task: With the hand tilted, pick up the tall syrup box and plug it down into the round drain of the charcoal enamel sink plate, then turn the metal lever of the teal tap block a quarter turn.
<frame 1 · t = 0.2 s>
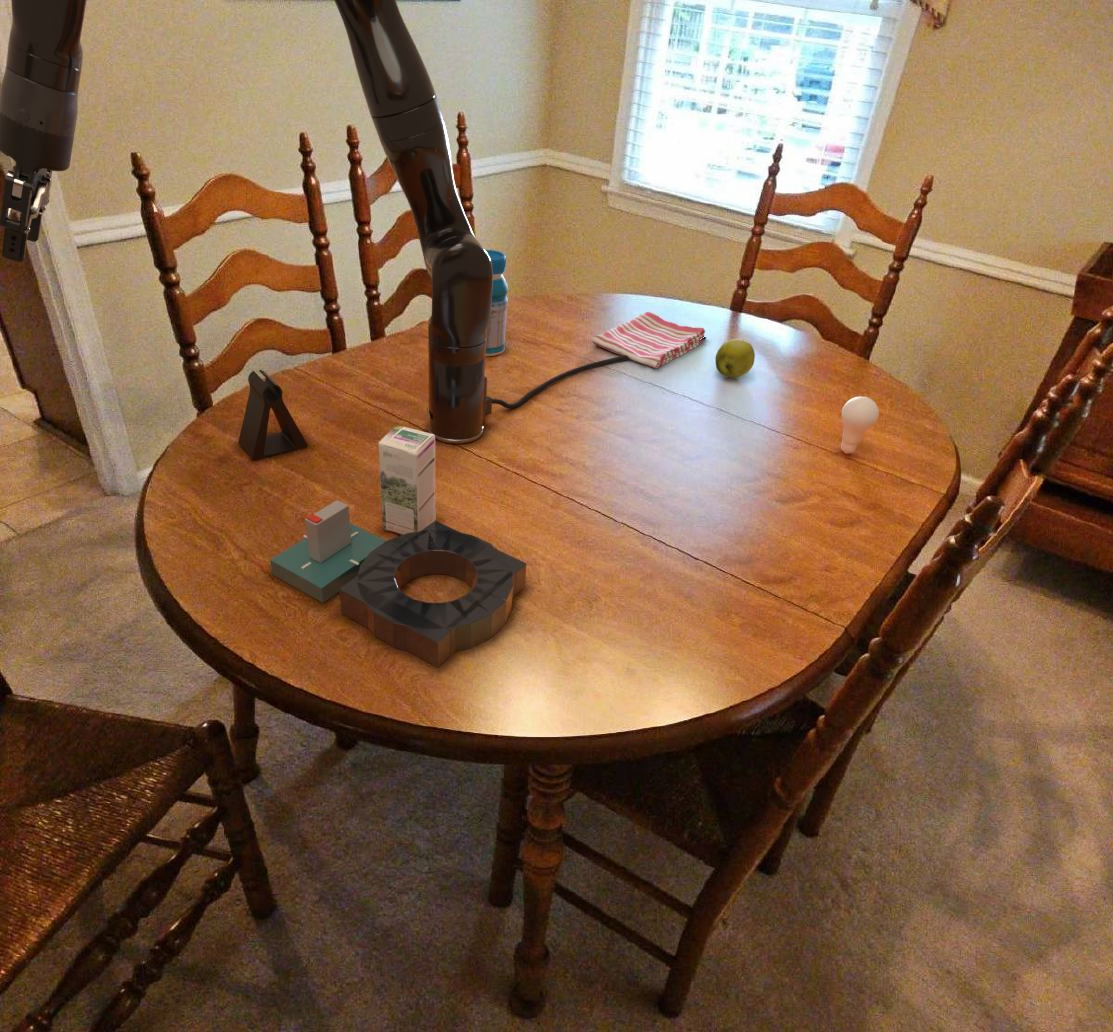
hand: (20, 248, 98), 31 cm above the table, tool tilted 20°, fingers open, 8 cm apart
apple: (730, 377, 163), on the table
phone stand: (273, 446, 124), on the table
lightbulb: (845, 453, 140), on the table
beverage bottle: (485, 350, 163), on the table
syrup box: (409, 526, 110), on the table
dish towel: (648, 345, 173), on the table
tap block: (332, 565, 101), on the table
tap handle: (328, 530, 98), point 6 cm above the table, hinge at 0.0°
sink: (436, 599, 97), on the table
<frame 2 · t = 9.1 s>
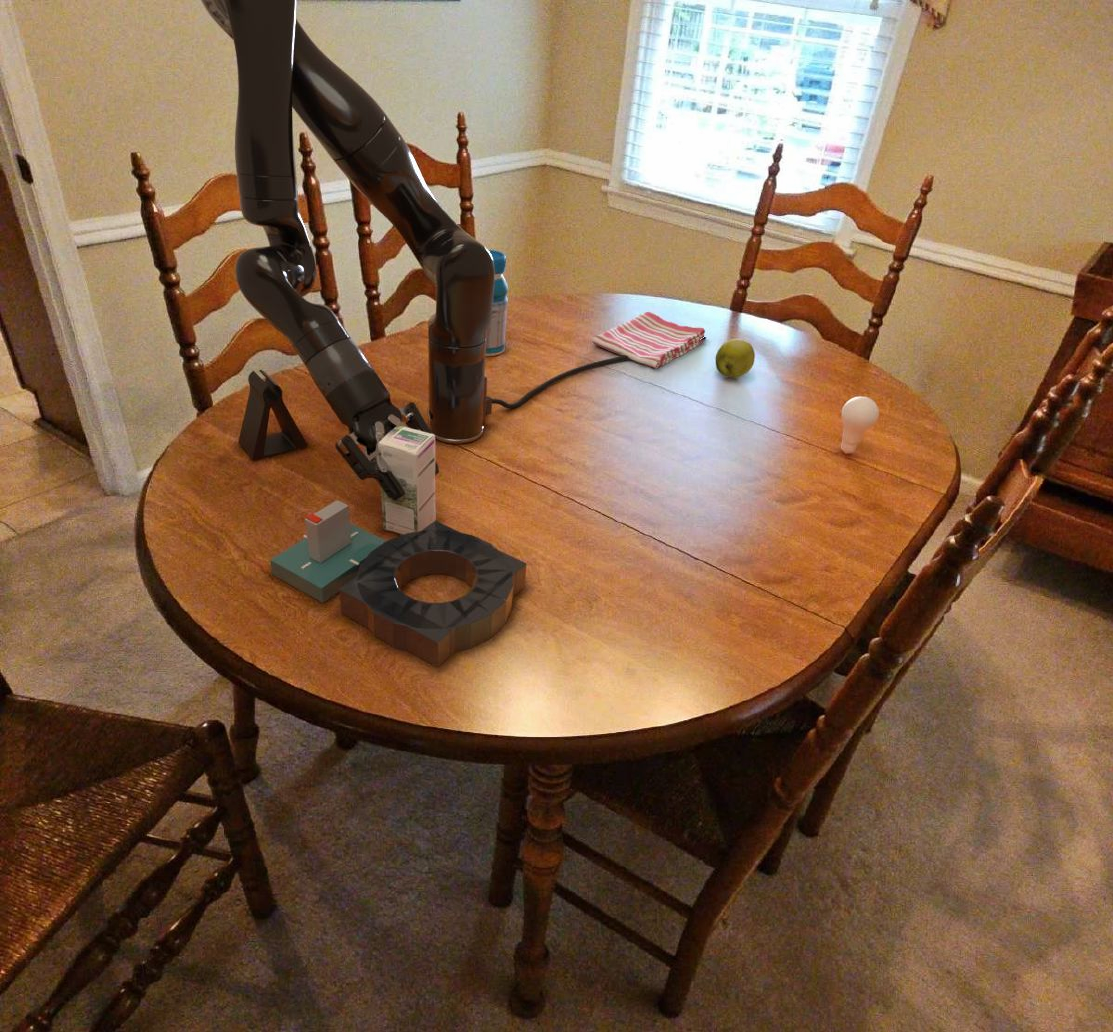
hand: (417, 486, 105), 7 cm above the table, tool tilted 45°, fingers closed on syrup box, 6 cm apart
syrup box: (409, 526, 110), on the table, touching gripper
everything else where it was.
when the fingers open (7 cm above the table, at t = 20.2 s): syrup box stays where it is, resting in sink.
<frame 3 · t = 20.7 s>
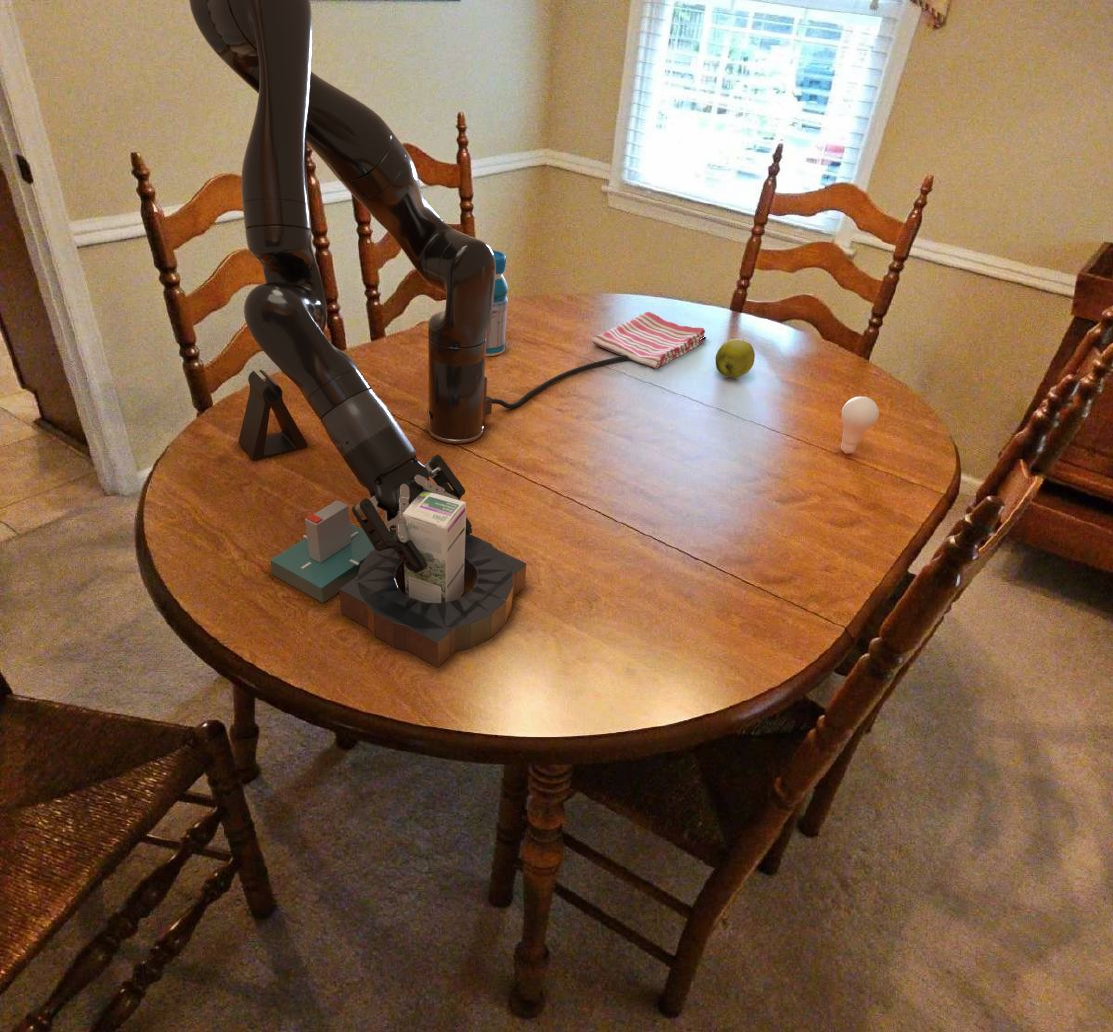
hand: (445, 552, 92), 8 cm above the table, tool tilted 45°, fingers open, 8 cm apart
syrup box: (435, 601, 97), resting in sink
everything else where it was.
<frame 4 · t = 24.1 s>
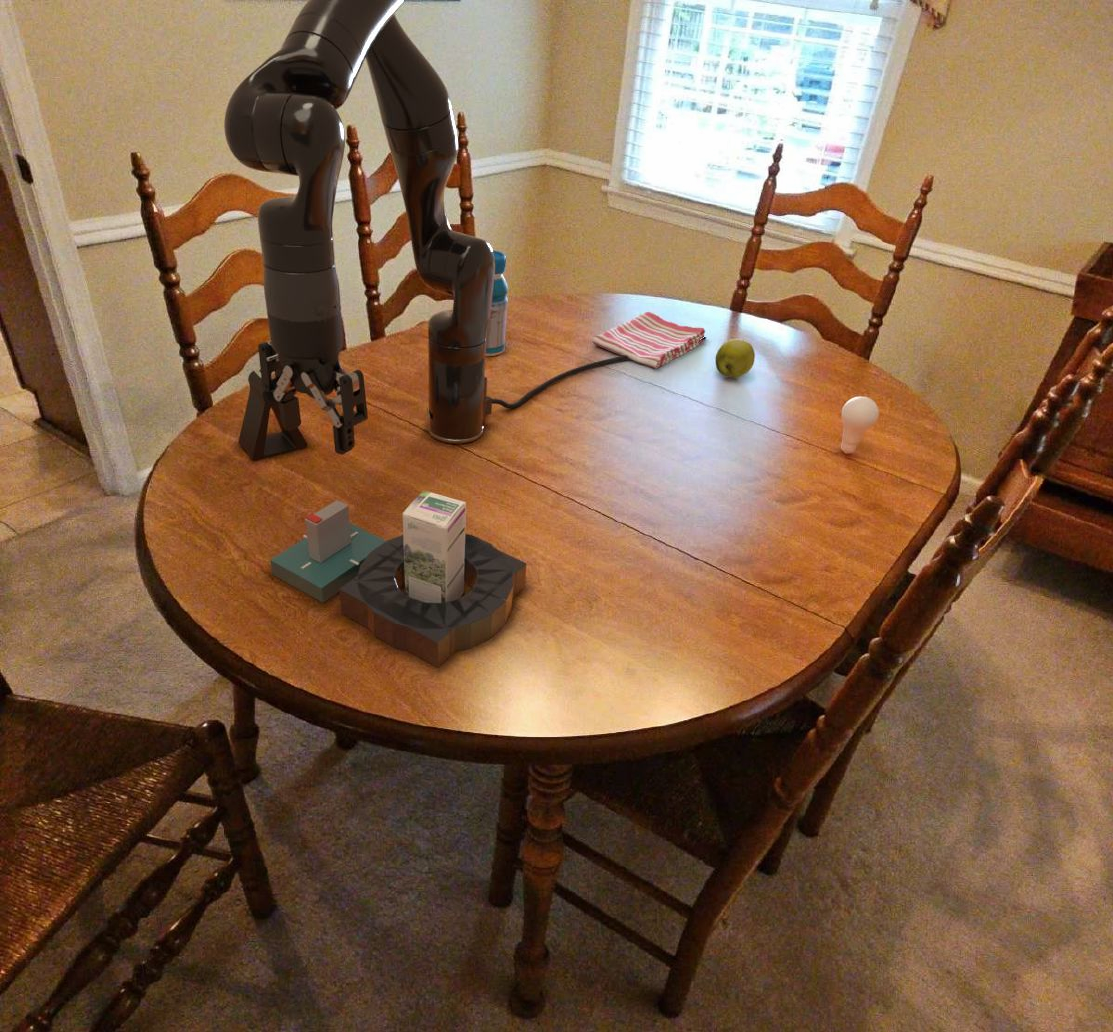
hand: (317, 439, 90), 19 cm above the table, tool pointing down, fingers open, 8 cm apart
nothing on the table moved.
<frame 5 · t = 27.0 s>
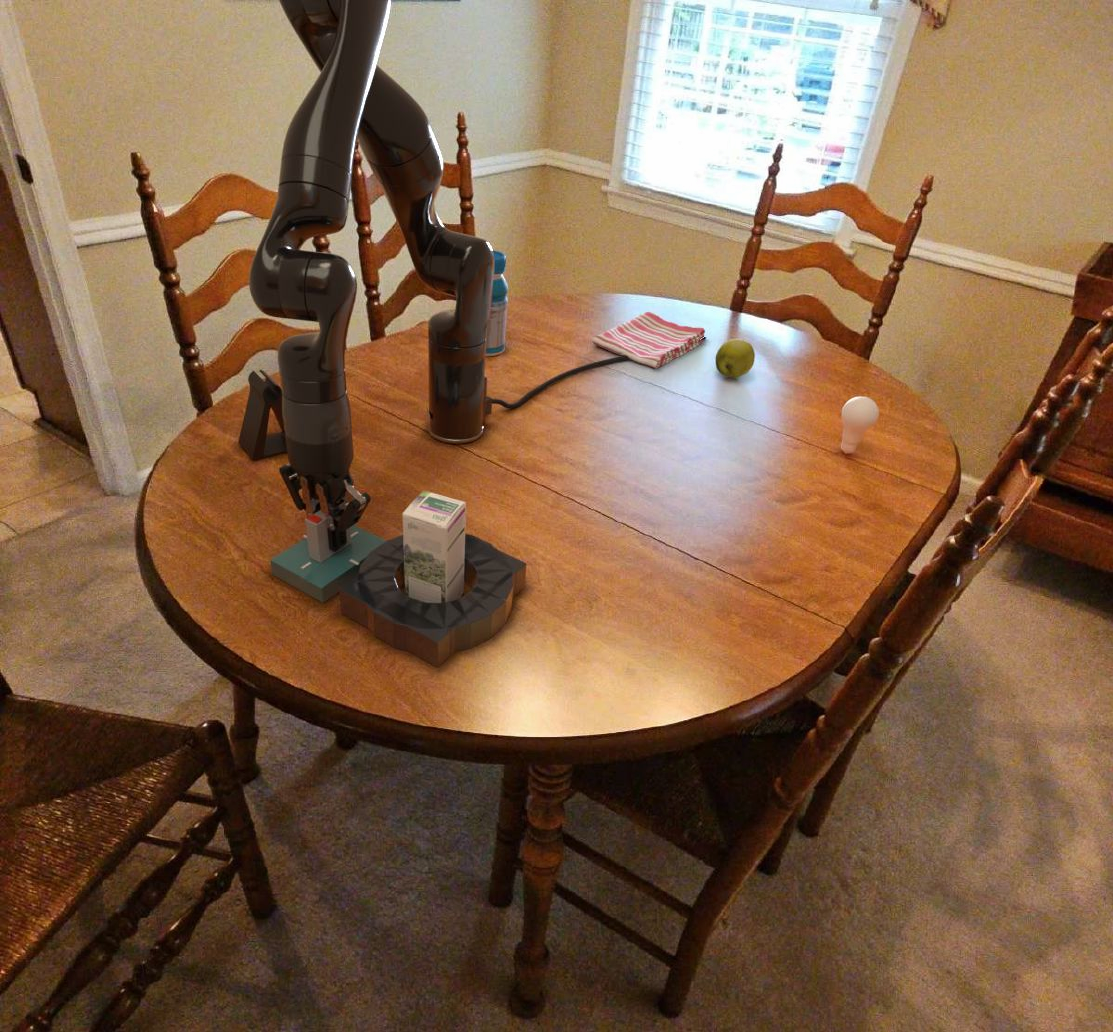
hand: (329, 543, 99), 4 cm above the table, tool pointing down, fingers closed on tap handle, 2 cm apart
tap handle: (328, 530, 98), point 6 cm above the table, hinge at 0.0°, touching gripper
everything else where it was.
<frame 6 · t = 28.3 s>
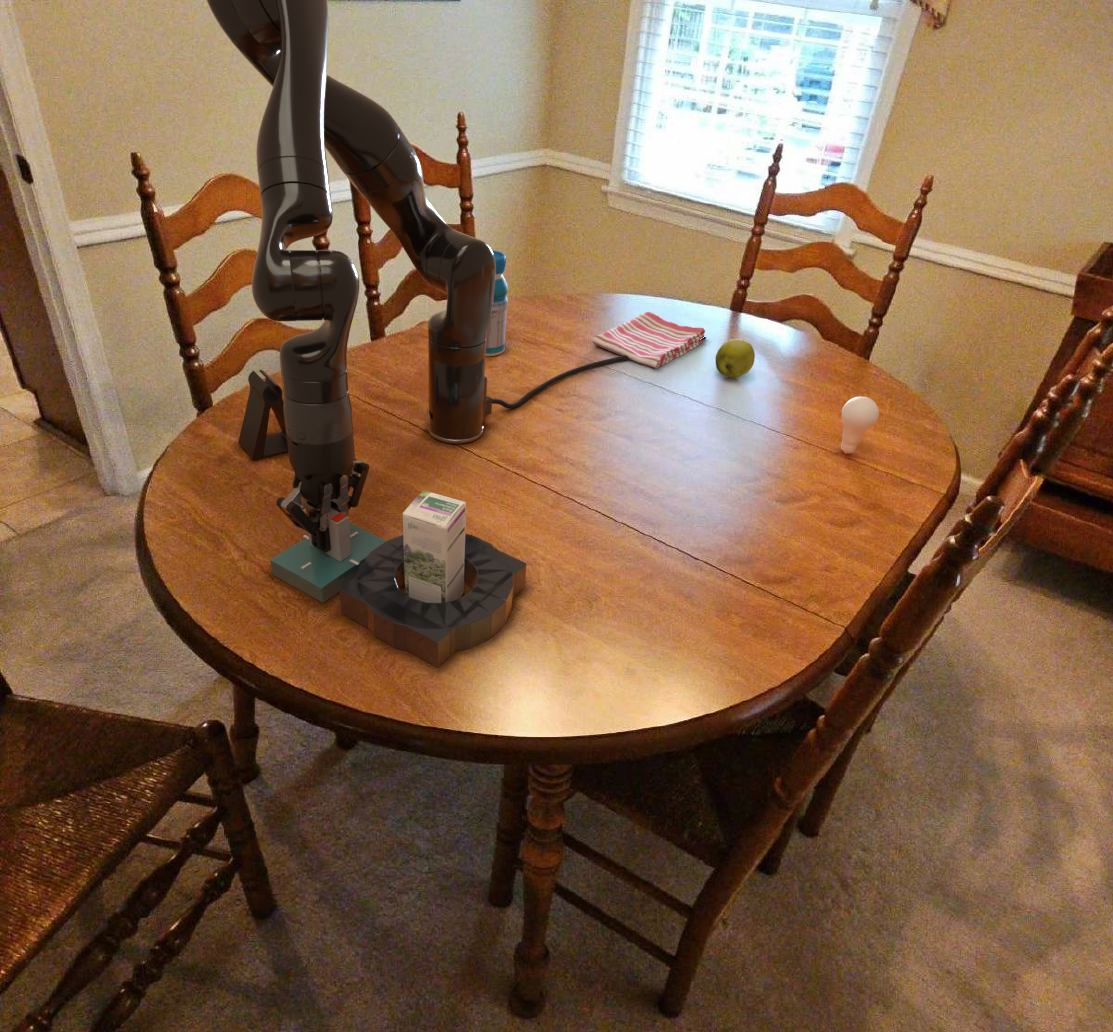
hand: (330, 544, 99), 4 cm above the table, tool pointing down, fingers closed on tap handle, 2 cm apart
tap handle: (328, 530, 98), point 6 cm above the table, hinge at 89.9°, touching gripper
everything else where it was.
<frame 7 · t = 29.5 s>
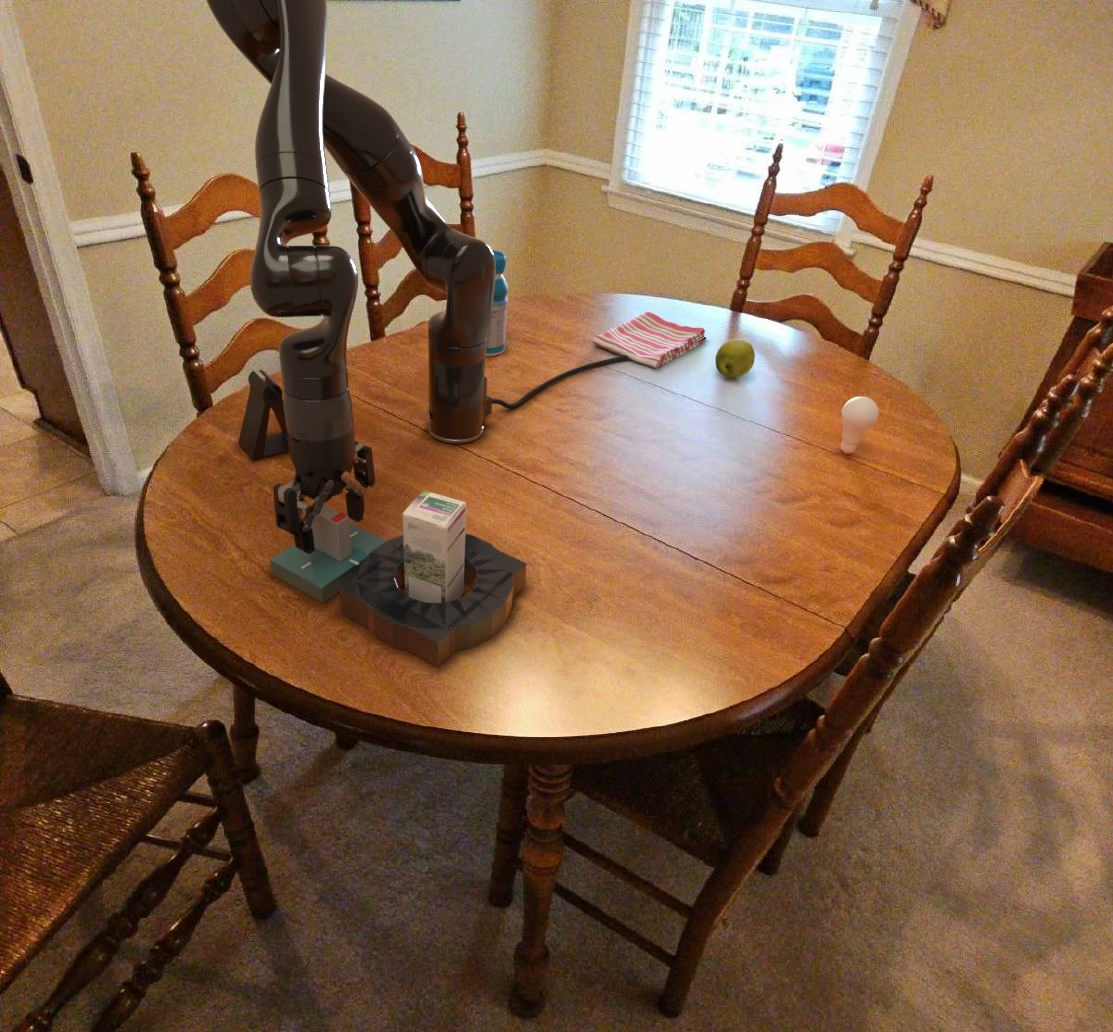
hand: (331, 534, 98), 5 cm above the table, tool pointing down, fingers open, 8 cm apart
tap handle: (328, 530, 98), point 6 cm above the table, hinge at 89.8°
everything else where it was.
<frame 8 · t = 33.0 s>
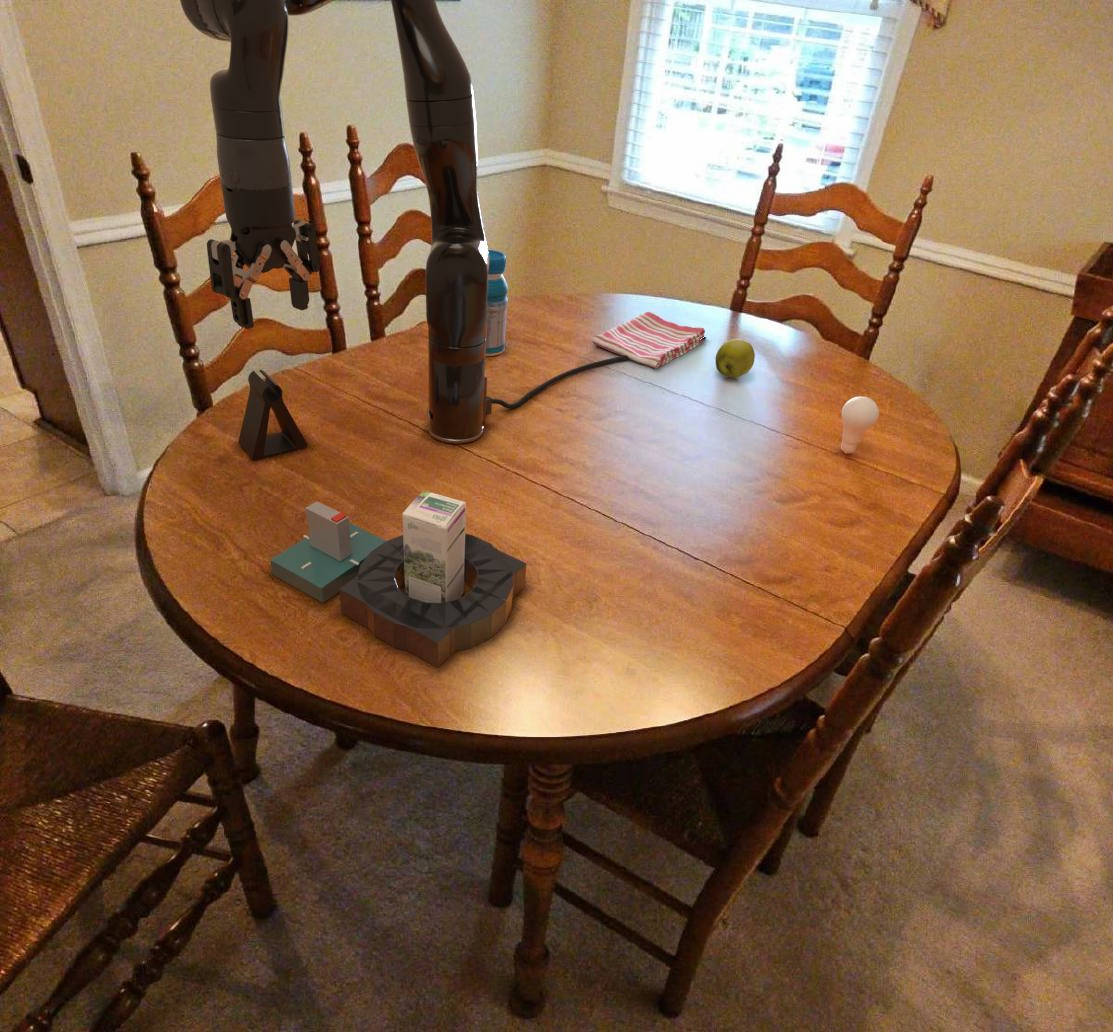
hand: (273, 317, 95), 28 cm above the table, tool pointing down, fingers open, 8 cm apart
nothing on the table moved.
at the end: syrup box 0.1 cm off-centre in the sink, point 0.0 cm above the sink's base; syrup box tilted 0°; tap handle at +90° (first picture: +0°) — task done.
